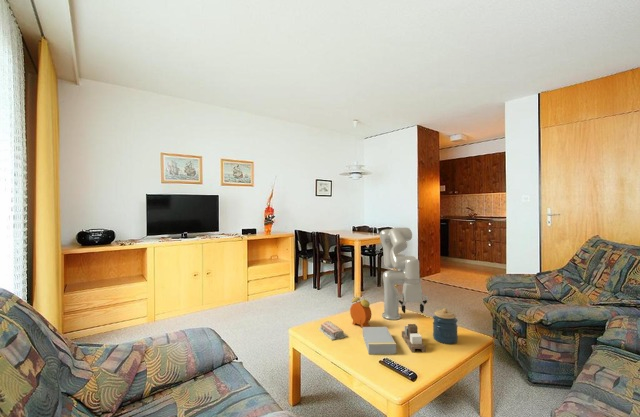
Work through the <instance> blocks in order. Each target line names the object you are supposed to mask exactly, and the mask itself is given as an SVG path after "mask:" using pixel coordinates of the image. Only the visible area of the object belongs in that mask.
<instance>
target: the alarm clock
mask: <svg viewBox="0 0 640 417" xmlns="http://www.w3.org/2000/svg"><path fill="white" fill-rule="evenodd" d="M357 295H362V296H363V294H361V293H359V292H357ZM351 303H352V304H351V306H350V310H349V314H350V317H351V319H352V323H351V324H352V325H353V326H356V325H359V326H360V328H361V329H363V327H370V323H369V321H371V319H372V310H371V307H370V302H369V301H368V300H367V299H365V298H363V299H362V300H361V298H360V297H358V296H354V298H353V299H352V300H351Z"/></svg>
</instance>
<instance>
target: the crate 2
mask: <svg viewBox="0 0 640 417" xmlns="http://www.w3.org/2000/svg"><path fill="white" fill-rule="evenodd" d="M410 342H411V343H412V344H422V343H423V338H422V335H421V334H420V333H413V334H410Z"/></svg>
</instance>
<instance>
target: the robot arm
mask: <svg viewBox="0 0 640 417" xmlns="http://www.w3.org/2000/svg"><path fill="white" fill-rule="evenodd" d="M412 238H413V232H412V230H411V229H410V228H409V227H393V228H391V229H390V228H389V229H382V230H381V231H380V232H379V241H380V243H381V246H382V252H383V264H384V267H385V268H387V269H392V270H385V271H384V272H383V273H382V281H383V292H384V294H383V299H384V301H383V304H384V305H383V308H384V309H383V312H382V313H381V314H382V315H381V316H382V318H383V319H386V320H390V321H392V320H393V321H396V320H400V319H401V318H402V315H401V313H399V309H400V308H399V303H400V305H401V312H402V313H403V314H406V304H407V303H419V311H420V312H419V313H421V314H424V311H425V305H426V304H427V303H428V300H430V299H429V296H428V295H425V294H424V293H423V290H422V284H421V282H423V278H420V260H419V259H418V258H416V257H415V256H414V255H405V254H401V253H402V252H404V251H405V250H406V249H407V248H408V243H407V242H408V241H411V240H412ZM393 269H395V270H393ZM396 285H397V286H398V285H399V286H400V285H401V286H402V285H403V286H402V292H401V293H402V294H400V295H399V289H398V288H397V287H396ZM423 298H424V299H423ZM401 299H402V300H401Z"/></svg>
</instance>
